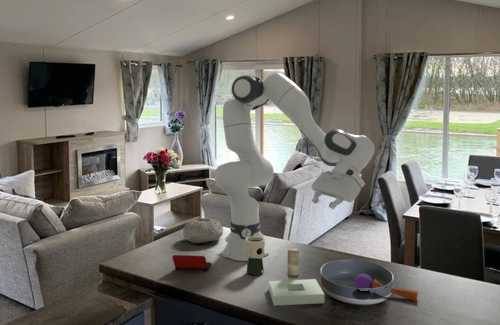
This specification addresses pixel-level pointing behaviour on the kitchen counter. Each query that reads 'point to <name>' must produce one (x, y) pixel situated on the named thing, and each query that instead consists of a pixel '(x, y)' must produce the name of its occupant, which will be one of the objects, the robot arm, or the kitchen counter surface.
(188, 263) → the handheld game console
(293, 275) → the beech peg
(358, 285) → the purple and orange maraca
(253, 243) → the character mug
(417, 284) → the kitchen counter surface
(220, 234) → the decorative shell
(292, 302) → the sage board
